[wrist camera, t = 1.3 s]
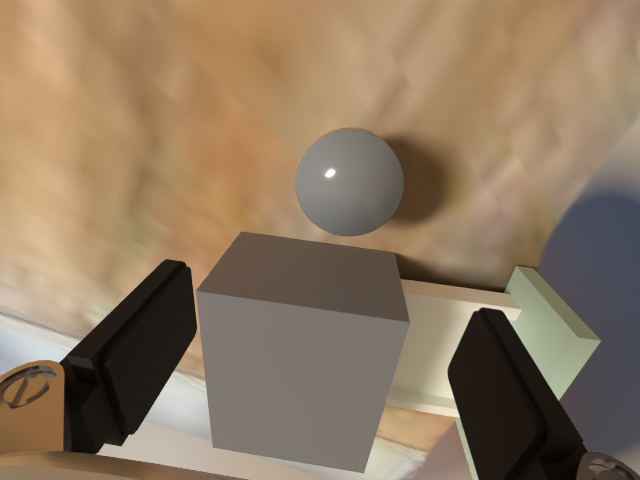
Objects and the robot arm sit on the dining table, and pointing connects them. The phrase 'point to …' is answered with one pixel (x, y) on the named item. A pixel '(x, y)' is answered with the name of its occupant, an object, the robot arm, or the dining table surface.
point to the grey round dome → (349, 182)
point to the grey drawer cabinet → (300, 348)
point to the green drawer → (450, 323)
